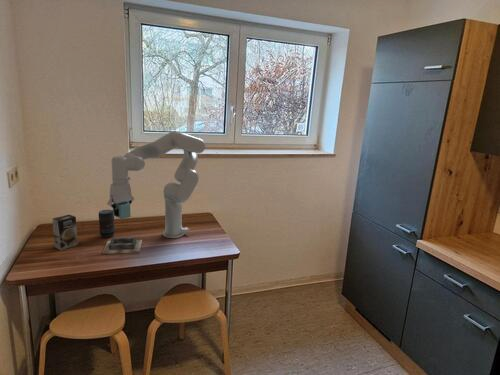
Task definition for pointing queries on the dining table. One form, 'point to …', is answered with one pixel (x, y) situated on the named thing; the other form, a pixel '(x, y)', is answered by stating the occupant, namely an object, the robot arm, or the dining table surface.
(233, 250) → the dining table surface
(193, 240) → the dining table surface
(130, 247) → the keyed nest
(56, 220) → the coffee box
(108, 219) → the camera lens
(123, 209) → the key block
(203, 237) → the dining table surface
